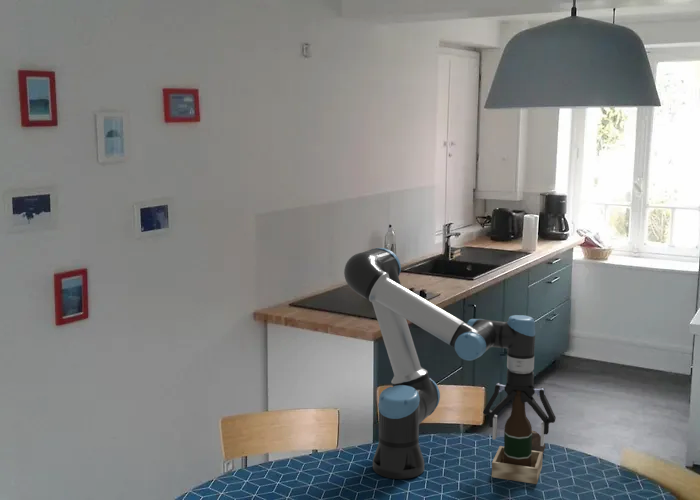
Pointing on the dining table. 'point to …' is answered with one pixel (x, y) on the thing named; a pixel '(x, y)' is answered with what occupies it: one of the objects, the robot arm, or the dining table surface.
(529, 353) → the robot arm
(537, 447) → the rock
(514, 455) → the beer bottle
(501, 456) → the caddy
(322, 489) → the dining table surface
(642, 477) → the dining table surface
